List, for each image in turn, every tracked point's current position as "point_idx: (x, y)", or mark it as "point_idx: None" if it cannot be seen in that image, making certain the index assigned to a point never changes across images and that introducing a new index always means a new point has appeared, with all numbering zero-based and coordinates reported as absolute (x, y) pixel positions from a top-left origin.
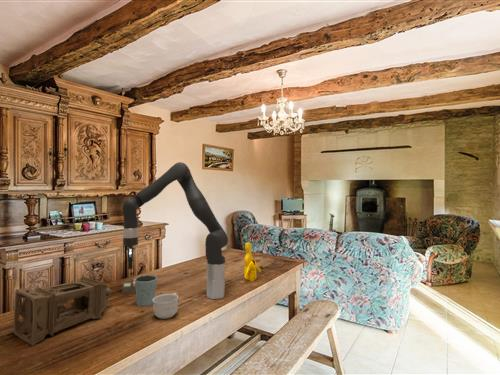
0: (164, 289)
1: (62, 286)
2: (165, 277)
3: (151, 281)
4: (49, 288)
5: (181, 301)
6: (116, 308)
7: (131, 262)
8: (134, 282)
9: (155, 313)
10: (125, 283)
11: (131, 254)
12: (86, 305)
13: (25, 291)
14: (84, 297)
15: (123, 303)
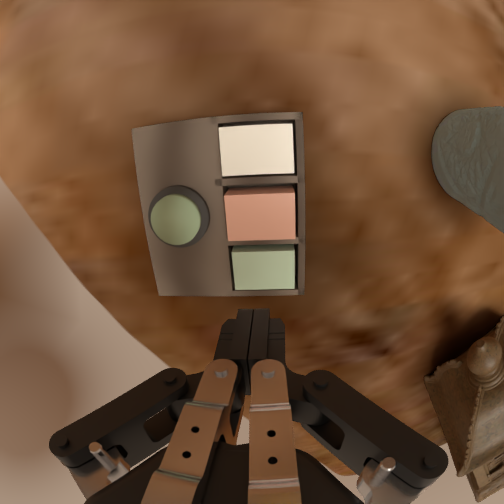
0: (294, 27)
1: (484, 468)
2: (65, 53)
3: None
4: (491, 475)
5: (478, 4)
6: (470, 279)
7: (286, 369)
8: (271, 230)
9: None
10: (236, 283)
11: (440, 470)
12: (440, 379)
13: (498, 487)
14: (446, 405)
15: (438, 257)
